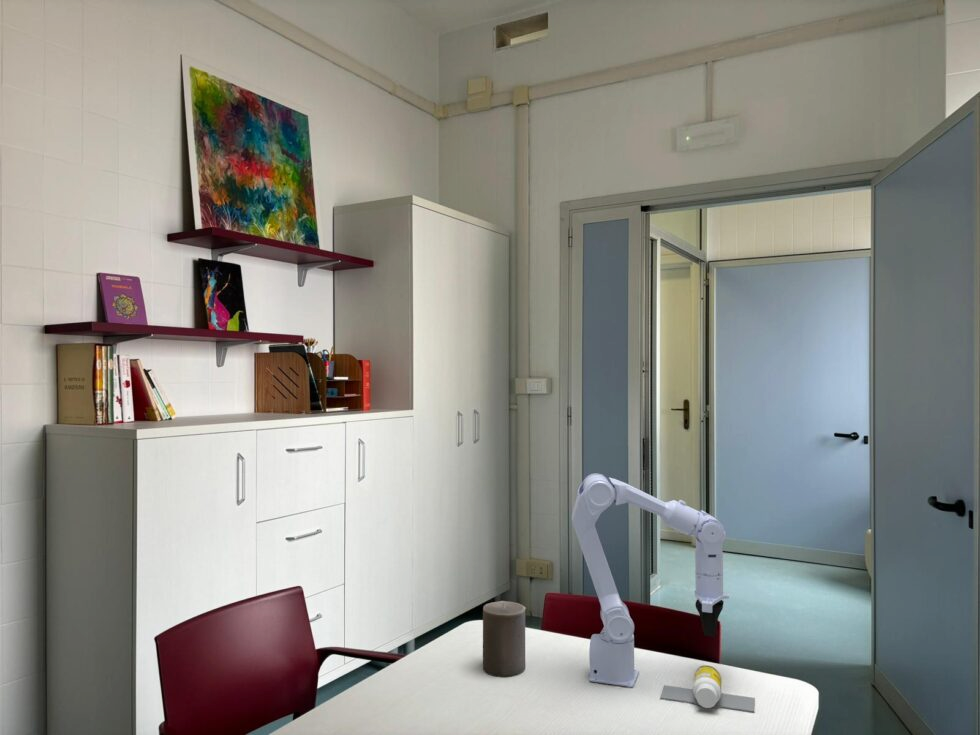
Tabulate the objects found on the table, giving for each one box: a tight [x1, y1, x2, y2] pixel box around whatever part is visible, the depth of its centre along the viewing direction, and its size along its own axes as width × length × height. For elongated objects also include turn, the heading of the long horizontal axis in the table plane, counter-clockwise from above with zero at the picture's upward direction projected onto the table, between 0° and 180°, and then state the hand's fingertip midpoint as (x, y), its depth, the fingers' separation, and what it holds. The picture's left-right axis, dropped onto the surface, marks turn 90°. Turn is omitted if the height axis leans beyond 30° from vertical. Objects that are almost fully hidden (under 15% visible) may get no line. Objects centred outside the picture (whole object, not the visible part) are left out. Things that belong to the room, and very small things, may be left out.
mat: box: [659, 684, 756, 713], centre depth 146 cm, size 18×6×1 cm, turn 69°
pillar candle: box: [482, 600, 527, 678], centre depth 163 cm, size 10×10×15 cm
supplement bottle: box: [692, 664, 722, 709], centre depth 145 cm, size 5×5×10 cm
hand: (709, 635), depth 156 cm, fingers closed
